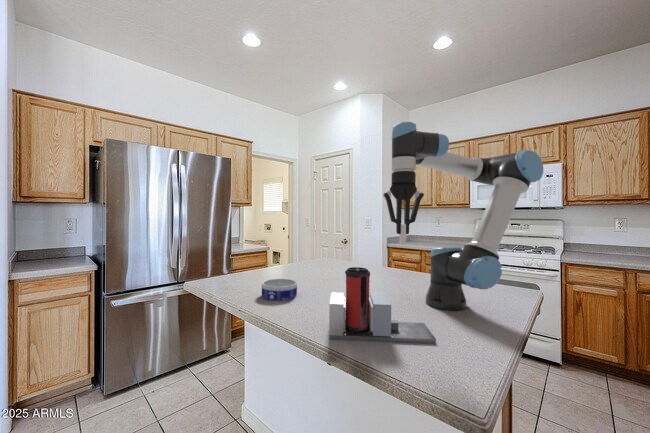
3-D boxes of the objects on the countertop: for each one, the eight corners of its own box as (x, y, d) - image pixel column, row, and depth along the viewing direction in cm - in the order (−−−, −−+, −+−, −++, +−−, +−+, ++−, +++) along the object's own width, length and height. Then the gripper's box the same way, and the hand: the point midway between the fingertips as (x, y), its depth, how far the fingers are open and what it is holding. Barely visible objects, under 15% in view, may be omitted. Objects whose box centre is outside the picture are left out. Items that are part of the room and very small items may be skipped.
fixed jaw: (345, 320, 93) (345, 292, 93) (345, 335, 81) (345, 304, 81) (331, 319, 94) (331, 292, 94) (329, 335, 82) (329, 303, 82)
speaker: (343, 322, 91) (344, 266, 91) (368, 322, 91) (368, 266, 91) (344, 332, 84) (345, 271, 84) (370, 332, 83) (371, 271, 83)
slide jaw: (394, 320, 92) (394, 293, 92) (401, 336, 80) (402, 305, 80) (367, 319, 93) (368, 292, 93) (371, 335, 81) (371, 304, 81)
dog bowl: (301, 292, 130) (301, 279, 130) (289, 302, 115) (289, 288, 115) (270, 290, 134) (270, 277, 133) (255, 299, 119) (255, 285, 119)
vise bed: (424, 326, 92) (424, 322, 92) (436, 343, 80) (436, 339, 80) (331, 323, 94) (331, 319, 94) (329, 339, 82) (329, 335, 82)
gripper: (420, 173, 96) (419, 243, 96) (381, 173, 97) (380, 242, 97) (427, 170, 88) (426, 245, 89) (384, 170, 89) (383, 245, 90)
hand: (402, 244), depth 93 cm, fingers closed
